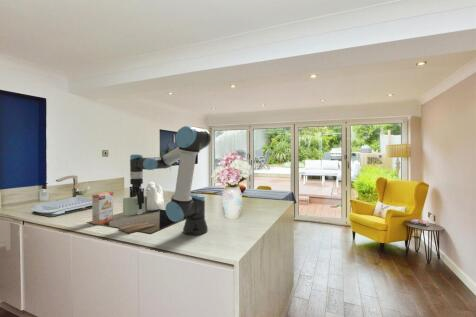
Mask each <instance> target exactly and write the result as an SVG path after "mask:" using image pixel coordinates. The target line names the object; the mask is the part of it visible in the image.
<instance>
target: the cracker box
mask: <svg viewBox="0 0 476 317" xmlns="http://www.w3.org/2000/svg"><path fill="white" fill-rule="evenodd" d="M91 196H92V197H91V198H92V200H91V201H92V203H91V204H92V206H91V208H92V209H91V210H92V213H91V214H92V219H91V220H92V222H91V223H92V225H97V226H98V225H99V226H100V225H102V224H105V223H108V222H110V221H113V220H114V192H113V191H104V192H100V193H93V194H91Z"/></svg>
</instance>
